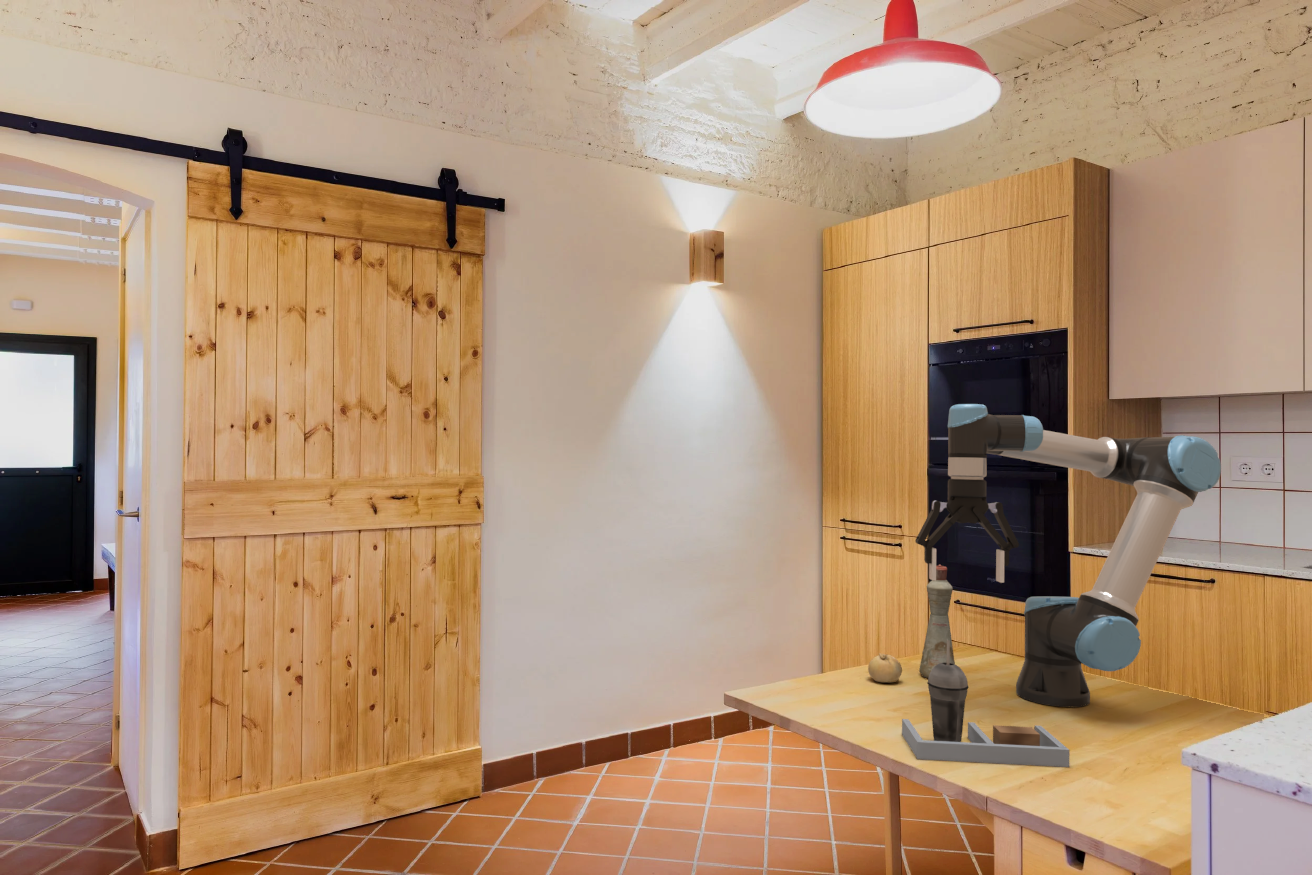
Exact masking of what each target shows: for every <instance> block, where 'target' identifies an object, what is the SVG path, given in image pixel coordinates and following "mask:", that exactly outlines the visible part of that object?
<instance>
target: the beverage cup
mask: <svg viewBox="0 0 1312 875" xmlns="http://www.w3.org/2000/svg"><path fill="white" fill-rule="evenodd" d="M927 680H928V681H927V688H928V693H929V698H930V710H931V722H932V735H933V741H949V742H962V739H963V738H962V737H963V729H964V728H963V727H964V718H965V705H966V699H967V697H968V696H967V695H968V690H969V685H968V684H969V682H968V679H967V675H966V673H965V672H964V671H963V670H962V668H961V667H960V666H958V665H957V664H956V663H955V664H953V663H950V641H949V640H947V662H943V663H940V664H938V665H936V666H935V667H934V668H933V669H932V670H931V672H930V674H929V678H927Z"/></svg>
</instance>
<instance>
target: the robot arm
mask: <svg viewBox="0 0 1312 875" xmlns="http://www.w3.org/2000/svg"><path fill="white" fill-rule="evenodd" d="M947 419H948V421H947V429H948V432H947V433H948V436H947V438H948V440H947V442H948V443H947V444H948V445H947V446H948V448H947V449H948V450H947V451H948V459H947V461H948V462H947V465H948V466H947V476H948V477H950V479H949V478H948V480H947V500H946V501H945V502H944V501H943V502H942V501H939V500H932V501H931V508H930V511H929V513H928V516H927V517H926V519H925V521H924V523H923V525H922V527H921V528H920V530H919V533H918V534H917V536H916V538H915V541H914V542H915V543H916V544H918V545H920V546H922V547H923V548H924V557H923V558H924V563H925V564H927V565H928V579H929V580H930V581H932V580H936V566H937V548H935V547H934V546H935V545H936V543H937V542H938V541H939V540H940V539H941V538H942V537H943V536H944V534H945V533H947V531H948V530H949V529H950V528H951V527H952V526H953V525H955V523H959V524H966V523H968V524H969V523H970V524H977V523H979V525H980V526H981V527H982V528H983V529H984V530H985V532H986V533H987V534H988V535H989V536H990V537H991V539H992V540H993V542H995V543H996V545H998V547H999V548H1000V549H998V548H997V549H996V552H995V556H996V557H995V558H996V559H995V562H996V563H995V566H996V567H995V581H996V582H998V583H1000V584H1002V583H1005V567H1008V566H1009V564H1010V551H1011V550H1012V549H1017V548H1019V546H1020V543H1019V541H1018V539H1017V537H1016V535H1015V533H1014V531H1013V529H1012V527H1011V525H1010V523H1009V522H1008V520H1007V518H1006V516H1005V514H1004V507H1003V503H1002V502H999V501H998V502H997V501H994V502H991V503H990V502H987V481H986V479H984V478H985V477H987V472H988V471H987V465H988V464H987V458H988V455H989V454H990V455H994V456H995V455H997V456H1003V457H1007V458H1012V459H1020V460H1022V461H1023V460H1025V461H1030V462H1035V463H1040V464H1047V465H1050V466H1057V467H1063V468H1069V469H1074V470H1079V471H1080V470H1081V471H1086V472H1090V474H1092V476H1094V477H1095V478H1097V479H1103V480H1109V481H1113V482H1117V483H1120V484H1124V485H1129V486H1131V487H1134V489H1135V491H1136V493H1137V494H1136V496H1135V498H1134V499H1133V502H1132V505H1131V506H1130V509H1129V510H1128V513H1127V515H1126V517H1125V519H1124V521H1123V524H1122V525H1121V527H1120V530H1119V532H1118V534H1117V536H1116V538H1115V541H1114V542H1113V544H1112V546H1111V549H1110V551H1109V552H1108V555H1107V556H1106V560H1105V561H1104V563H1103V566H1102V568H1101V570H1100V572H1099V575H1098V576H1097V578H1096V581H1095V582H1094V584H1093V587H1092V589H1091V590H1089V591H1085V592H1082V593H1081V594H1079V597H1078V596H1077V597H1076V596H1050V595H1049V596H1048V595H1047V596H1030V597H1027V599H1026V601H1025V602H1024V604H1025V605H1024V612H1023V615H1024V661H1023V664H1022V667H1021V670H1020V672H1019V676H1018V677H1017V679H1016V680H1017V681H1016V687H1015V688H1016V690H1015V693H1016V695H1017V696H1018V697H1020V698H1022V699H1024V700H1027V701H1030V702H1034V703H1036V704H1041V705H1046V706H1053V707H1062V708H1063V707H1064V708H1079V707H1086V706H1089V705H1090V703H1091V692H1090V689H1089V688H1090V687H1089V685H1088V683H1087V680H1086V677H1085V674H1084V671H1083V668H1082V665H1084V666H1086V667H1088V668H1090V669H1093V670H1100V671H1103V672H1116V671H1119V670H1122V669H1125V668H1127V667H1129V665H1131V664H1132V663H1133V662H1134V661H1135V659H1136V658H1137V657H1138V655H1139V653H1140V650H1141V644H1142V640H1141V639H1140V637H1141V636H1140V634H1141V633H1140V631H1139V629H1138V627H1137V625H1138V623H1139V620H1140V618H1139V616H1138V614H1137V612H1136V607H1137V604H1138V602H1139V600H1140V598H1141V596H1142V594H1143V592H1144V589H1145V587H1146V586H1147V583H1148V581H1149V579H1150V577H1151V575H1152V572H1153V570H1154V568H1155V566H1156V564H1157V562H1158V559H1159V558H1160V556H1161V553H1162V551H1163V549H1164V547H1165V544H1166V543H1167V540H1168V538H1169V536H1170V534H1171V532H1172V529H1173V527H1174V525H1175V522H1176V521H1177V519H1178V517H1179V515H1180V512H1181V511H1182V510H1183V509H1186V508H1191V507H1193V504H1194V502H1195V501H1196V498H1197V496H1198V494H1199V493H1201V492H1206V491H1207V490H1210V489H1212V488H1214V487H1215V486H1216V484H1217V483H1218V482H1219V480H1220V477H1221V474H1222V473H1221V472H1222V464H1221V459H1220V458H1219V457H1218V455H1219V454H1218V452H1217V450H1216V449H1215V447H1214V446H1213V444H1211V443H1210V442H1209V441H1207V440H1205V439H1204V438H1202V437H1198V436H1192V435H1191V436H1188V435H1183V434H1181V435H1176V436H1156V437H1155V436H1154V437H1151V436H1149V437H1148V436H1147V437H1133V438H1115V437H1108V436H1102V437H1099V438H1098V439H1095V438H1090V437H1084V436H1080V435H1078V436H1077V435H1073V434H1067V433H1063V432H1058V431H1057V432H1055V431H1051V430H1045V429H1044V427H1043V424H1042V423H1041V421H1040V419H1038V418H1037V417H1035V416H1032V415H1031V416H1030V415H1024V414H1021V415H1015V414H1013V415H1011V414H1010V415H1009V414H1008V415H1007V414H1006V415H1005V414H1001V415H1000V414H994V415H993V414H990V413H989V412H988V408H987V406H986V405H984V404H983V403H982V404H980V403H979V404H978V403H958V404H954V405H952V406H950V408H949V411H948V418H947ZM987 454H988V455H987ZM944 509H946V511H947V512H948V513H949V514H948V515H947V516H946V517H945V519H944V520H943V521H942V523H940V525H939V526H938V527H937V528H936V529H935V530H934V531H933V532H932V533H931V535H930V532H931V530H932V528H933V526H934V524H935V523H936V521H937V519H938V517H939V515H940V513H941V512H943V511H944ZM988 510H989V511H990V513H993V515H994V518H995V519H996V521H997V524H998V525H999V527H1000V530H1001V532H1002V534H1003V536H1004V537H1005V539H1006V540H1005V539H1004V538H1003V537H1002V535H1001V534H1000V533H999V532H998V531H997V529H995V527H994V526H993V525H992V524H991V522H990V521H989V519H988V518H987V517H986V516H985V514H986V513H987V511H988ZM928 535H930V536H929V537H928Z"/></svg>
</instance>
